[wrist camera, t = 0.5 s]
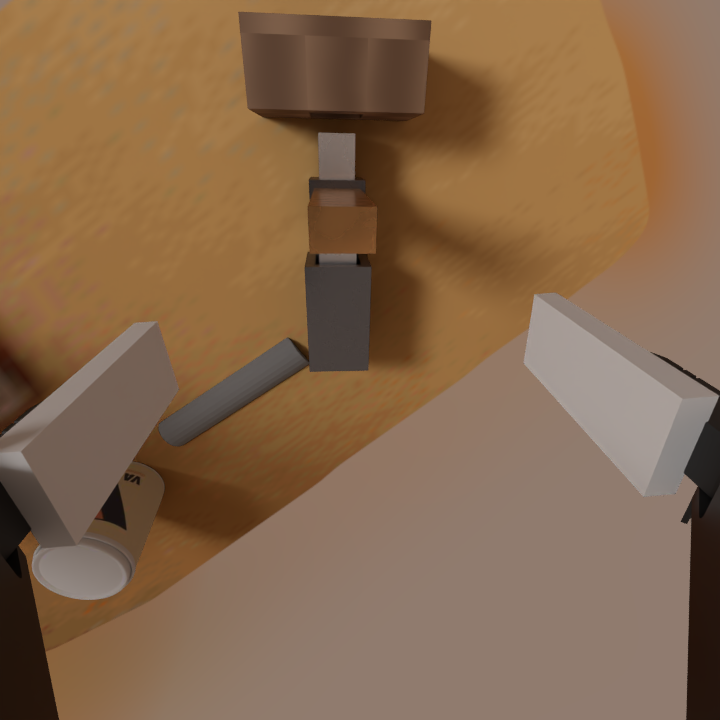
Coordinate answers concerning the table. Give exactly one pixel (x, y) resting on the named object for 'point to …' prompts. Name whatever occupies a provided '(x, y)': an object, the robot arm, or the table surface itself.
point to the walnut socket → (334, 66)
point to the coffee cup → (105, 541)
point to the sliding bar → (339, 205)
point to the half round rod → (233, 393)
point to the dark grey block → (338, 314)
